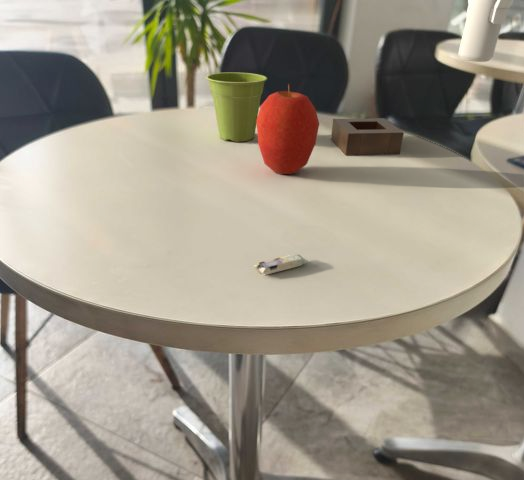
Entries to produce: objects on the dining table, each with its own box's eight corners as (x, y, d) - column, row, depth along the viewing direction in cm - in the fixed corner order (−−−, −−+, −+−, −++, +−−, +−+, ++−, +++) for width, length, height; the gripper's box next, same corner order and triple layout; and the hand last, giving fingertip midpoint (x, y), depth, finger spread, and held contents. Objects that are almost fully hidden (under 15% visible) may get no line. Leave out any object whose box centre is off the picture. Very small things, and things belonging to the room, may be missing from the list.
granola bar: (299, 257, 61) (299, 250, 61) (309, 265, 60) (309, 258, 59) (251, 269, 59) (251, 261, 58) (260, 278, 57) (260, 270, 57)
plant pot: (277, 138, 103) (279, 77, 96) (234, 149, 96) (234, 85, 89) (239, 127, 110) (238, 69, 103) (196, 136, 103) (193, 75, 96)
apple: (258, 182, 82) (259, 89, 74) (253, 163, 90) (254, 77, 82) (319, 181, 83) (327, 90, 75) (309, 162, 91) (316, 77, 82)
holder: (381, 138, 105) (384, 118, 103) (399, 154, 97) (404, 132, 94) (330, 139, 104) (333, 118, 101) (345, 155, 95) (348, 133, 93)
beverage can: (497, 62, 70) (527, -46, 63) (463, 61, 70) (489, -47, 62) (484, 57, 74) (511, -46, 66) (452, 56, 74) (476, -47, 66)
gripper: (599, -124, 53) (549, 29, 61) (498, -105, 69) (469, 15, 77) (545, -127, 52) (503, 29, 61) (455, -107, 68) (432, 14, 76)
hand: (483, 21), depth 69 cm, fingers closed on beverage can, 5 cm apart
